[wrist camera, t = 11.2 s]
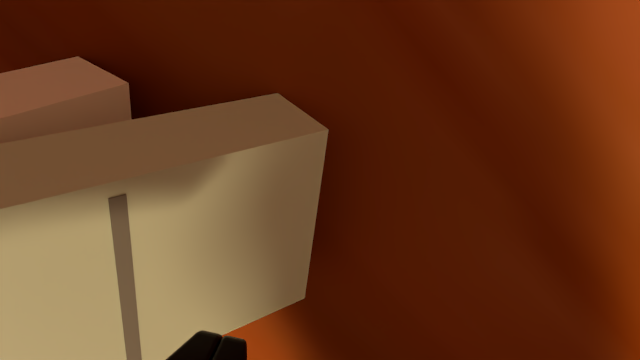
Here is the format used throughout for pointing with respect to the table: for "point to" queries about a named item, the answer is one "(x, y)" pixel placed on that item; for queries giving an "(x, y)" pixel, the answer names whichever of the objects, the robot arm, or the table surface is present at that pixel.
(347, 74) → the table surface
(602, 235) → the table surface
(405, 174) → the table surface
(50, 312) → the sage domino
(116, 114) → the domino
